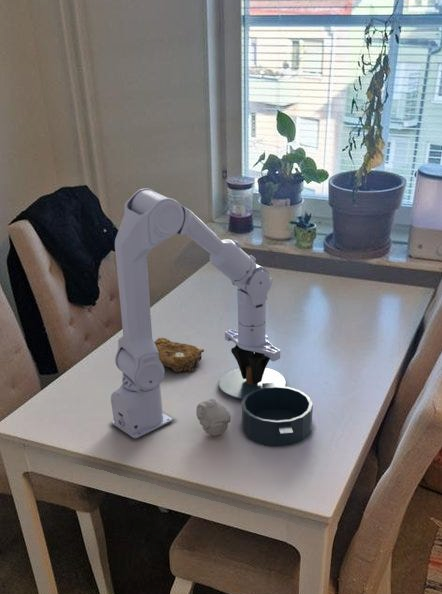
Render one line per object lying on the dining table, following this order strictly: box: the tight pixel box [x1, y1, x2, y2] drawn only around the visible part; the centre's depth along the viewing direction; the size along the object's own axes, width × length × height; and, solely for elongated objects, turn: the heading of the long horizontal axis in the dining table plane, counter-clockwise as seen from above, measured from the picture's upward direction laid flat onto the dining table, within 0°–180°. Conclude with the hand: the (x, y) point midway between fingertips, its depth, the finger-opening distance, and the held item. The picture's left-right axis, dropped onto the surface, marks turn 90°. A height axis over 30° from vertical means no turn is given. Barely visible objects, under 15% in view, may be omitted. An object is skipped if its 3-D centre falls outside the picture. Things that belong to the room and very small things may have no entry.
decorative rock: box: [154, 337, 205, 373], centre depth 156 cm, size 11×4×15 cm
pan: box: [240, 383, 314, 448], centre depth 130 cm, size 13×19×6 cm
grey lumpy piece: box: [195, 397, 232, 437], centre depth 129 cm, size 6×7×7 cm
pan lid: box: [218, 365, 287, 401], centre depth 144 cm, size 14×14×5 cm
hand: (252, 379), depth 145 cm, fingers closed on pan lid, 3 cm apart
